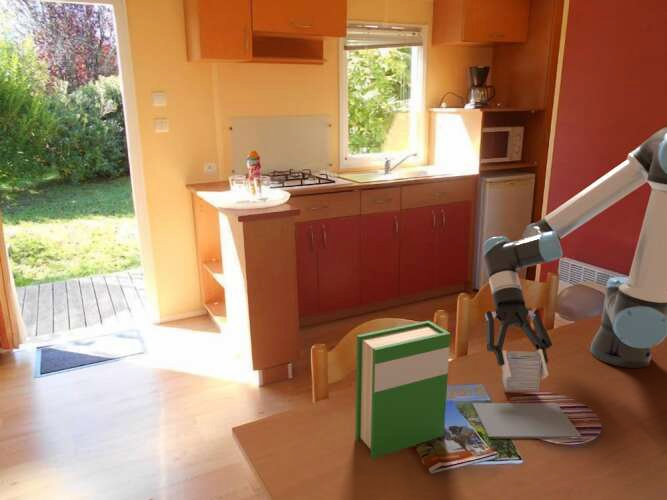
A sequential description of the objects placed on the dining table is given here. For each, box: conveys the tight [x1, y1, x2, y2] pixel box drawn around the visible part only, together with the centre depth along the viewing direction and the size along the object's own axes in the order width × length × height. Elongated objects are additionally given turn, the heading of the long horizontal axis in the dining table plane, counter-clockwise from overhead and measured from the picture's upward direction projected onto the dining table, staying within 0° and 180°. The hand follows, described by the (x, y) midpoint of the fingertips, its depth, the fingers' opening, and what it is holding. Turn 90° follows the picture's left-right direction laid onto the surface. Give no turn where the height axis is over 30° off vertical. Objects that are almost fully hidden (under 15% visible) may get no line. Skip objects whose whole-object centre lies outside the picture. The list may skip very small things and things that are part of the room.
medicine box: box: [501, 350, 541, 392], centre depth 128 cm, size 8×4×9 cm, turn 84°
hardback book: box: [354, 320, 451, 460], centre depth 109 cm, size 18×7×24 cm, turn 116°
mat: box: [472, 402, 583, 439], centre depth 118 cm, size 20×13×1 cm, turn 90°
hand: (526, 377), depth 125 cm, fingers closed on medicine box, 8 cm apart
